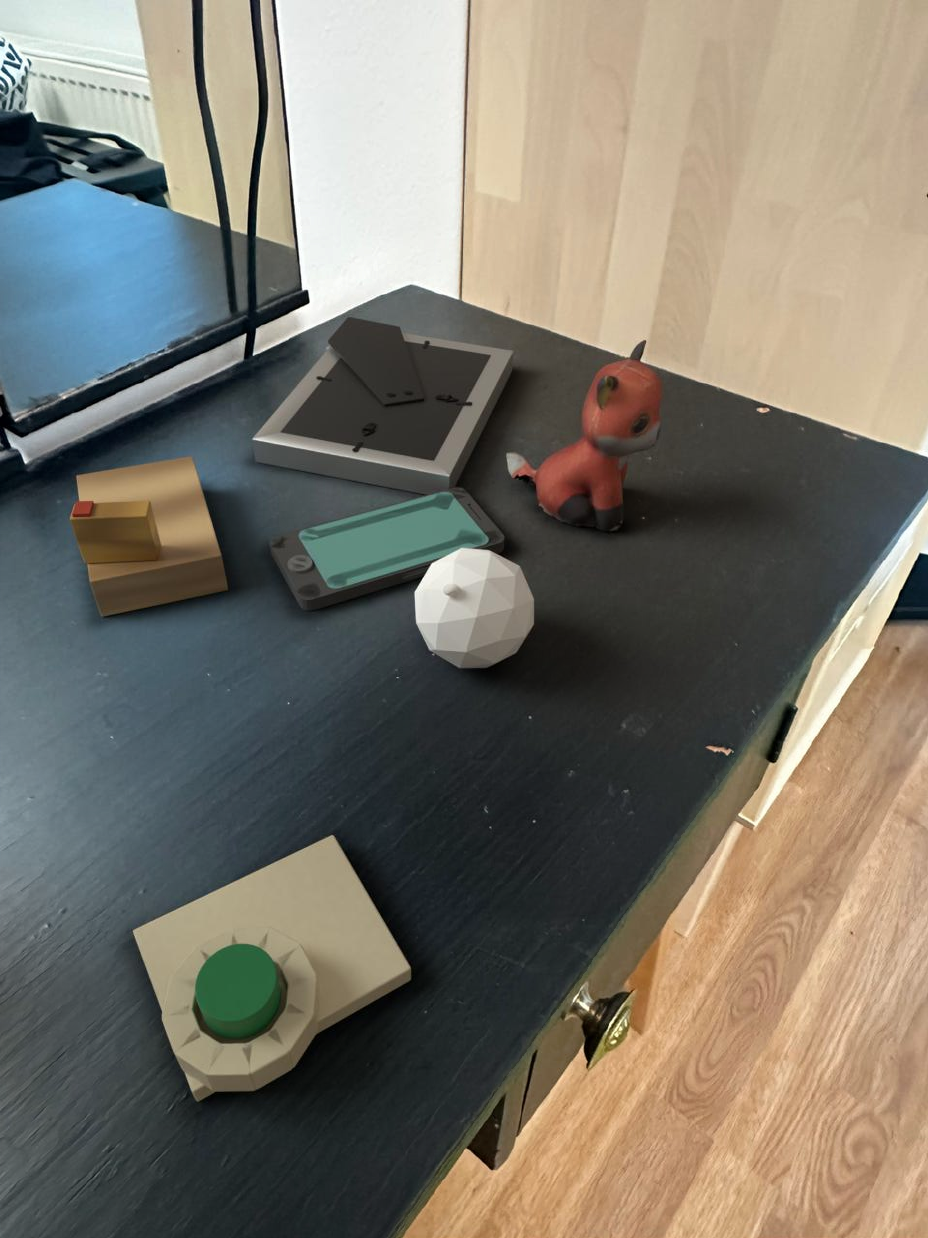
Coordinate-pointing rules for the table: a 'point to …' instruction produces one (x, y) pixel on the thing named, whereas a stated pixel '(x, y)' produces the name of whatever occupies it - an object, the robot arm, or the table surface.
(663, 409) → the table surface
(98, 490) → the brown flat block
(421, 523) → the smartphone
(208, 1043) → the box
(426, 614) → the ornament
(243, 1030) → the release button
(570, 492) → the stuffed fox
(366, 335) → the picture frame
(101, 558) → the thumb turn
